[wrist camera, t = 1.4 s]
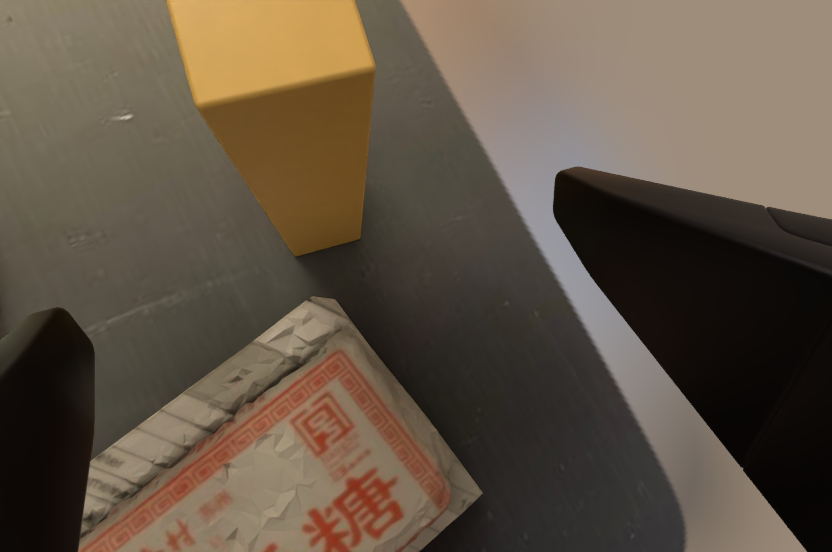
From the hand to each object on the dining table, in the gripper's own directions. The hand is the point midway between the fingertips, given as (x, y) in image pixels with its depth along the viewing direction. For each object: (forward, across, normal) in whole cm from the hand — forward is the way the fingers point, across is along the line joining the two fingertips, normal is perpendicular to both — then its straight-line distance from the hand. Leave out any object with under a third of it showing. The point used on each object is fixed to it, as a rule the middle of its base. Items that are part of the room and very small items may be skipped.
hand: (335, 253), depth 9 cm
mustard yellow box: (+11, 0, +5) cm, 12 cm away
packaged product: (+3, +7, +13) cm, 15 cm away
